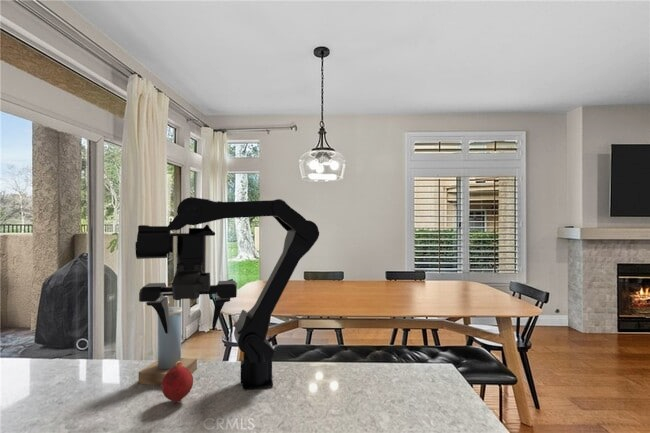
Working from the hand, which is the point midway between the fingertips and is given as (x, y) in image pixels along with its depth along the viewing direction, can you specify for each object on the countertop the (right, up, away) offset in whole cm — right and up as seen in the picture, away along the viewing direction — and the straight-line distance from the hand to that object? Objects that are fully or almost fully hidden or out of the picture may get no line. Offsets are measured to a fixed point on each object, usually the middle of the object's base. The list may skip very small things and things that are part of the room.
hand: (190, 331), depth 73 cm
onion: (-1, -13, -4) cm, 14 cm away
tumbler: (-8, -11, +8) cm, 16 cm away
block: (-8, -13, +8) cm, 17 cm away
